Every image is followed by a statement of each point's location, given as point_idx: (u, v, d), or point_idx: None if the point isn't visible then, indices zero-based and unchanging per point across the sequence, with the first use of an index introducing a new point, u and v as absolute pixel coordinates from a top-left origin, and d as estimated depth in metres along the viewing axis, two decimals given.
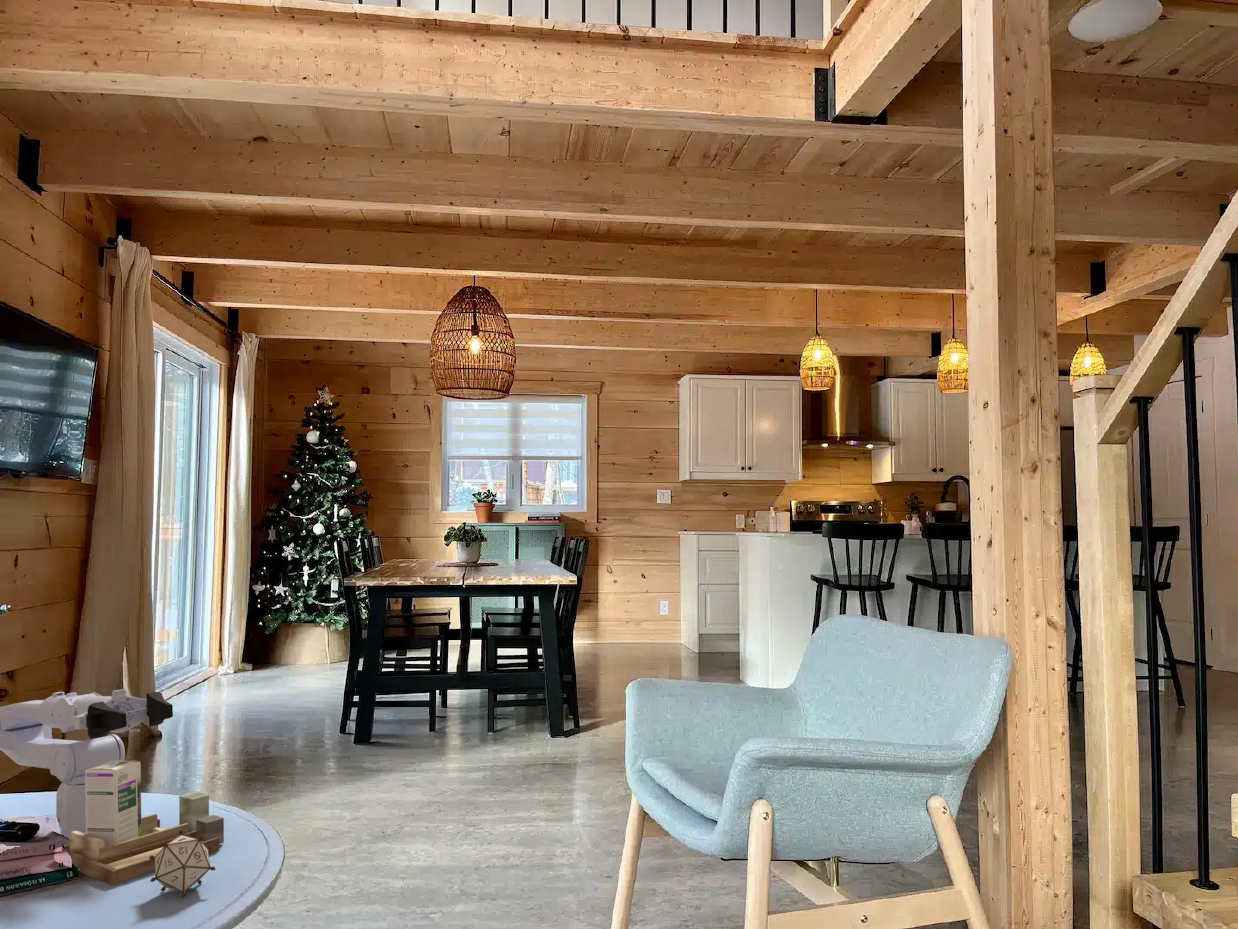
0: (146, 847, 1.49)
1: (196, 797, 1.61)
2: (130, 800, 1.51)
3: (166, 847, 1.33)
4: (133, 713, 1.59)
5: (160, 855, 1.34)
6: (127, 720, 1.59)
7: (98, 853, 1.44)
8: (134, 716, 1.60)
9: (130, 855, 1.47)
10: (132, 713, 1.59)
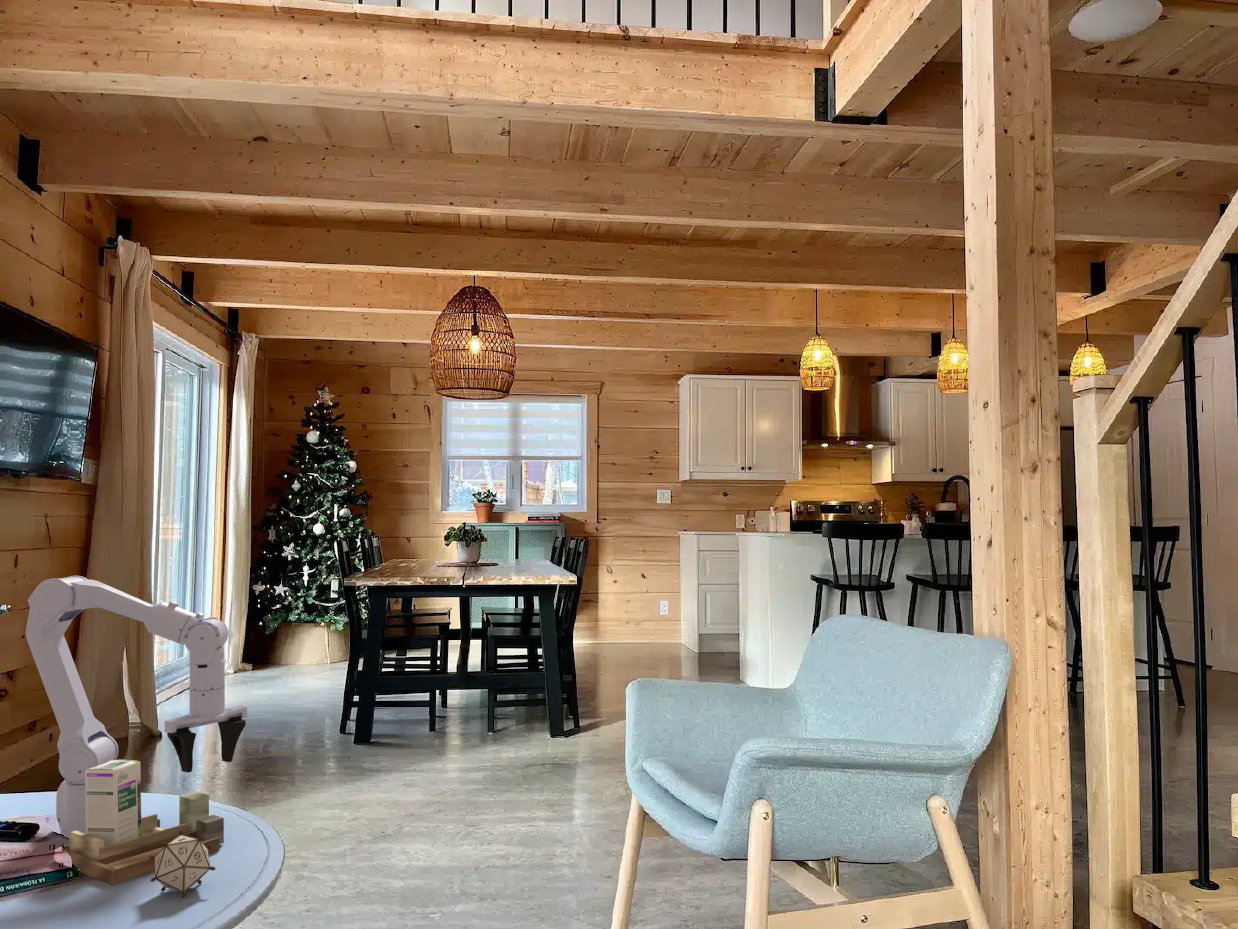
0: (146, 847, 1.49)
1: (196, 797, 1.61)
2: (130, 800, 1.51)
3: (166, 847, 1.33)
4: (214, 722, 1.68)
5: (160, 855, 1.34)
6: None
7: (98, 853, 1.44)
8: None
9: (130, 855, 1.47)
10: (213, 722, 1.68)
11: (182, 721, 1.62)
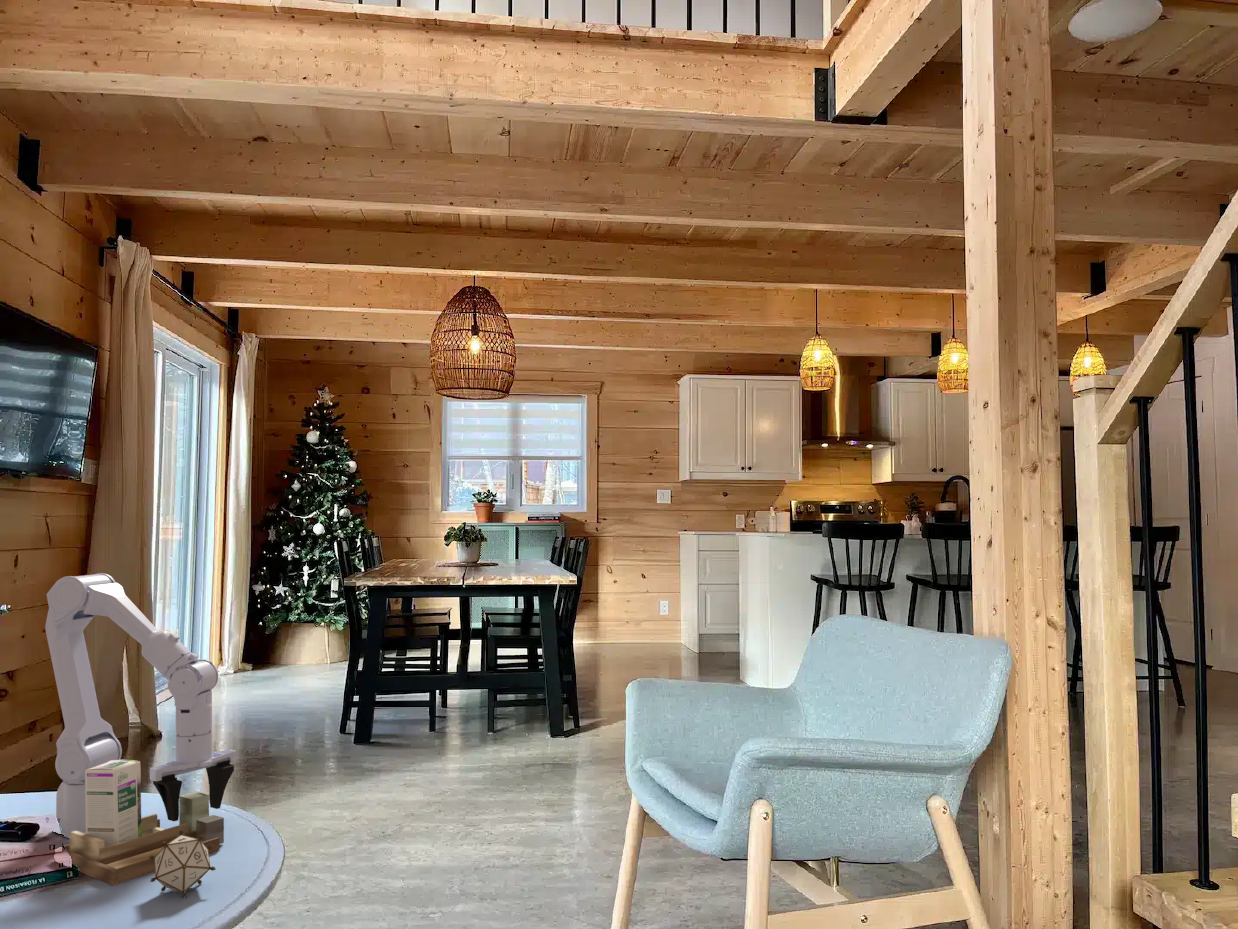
0: (146, 847, 1.49)
1: (196, 797, 1.61)
2: (130, 800, 1.51)
3: (166, 847, 1.33)
4: None
5: (160, 855, 1.34)
6: None
7: (98, 853, 1.44)
8: None
9: (130, 855, 1.47)
10: (201, 768, 1.63)
11: (168, 769, 1.57)
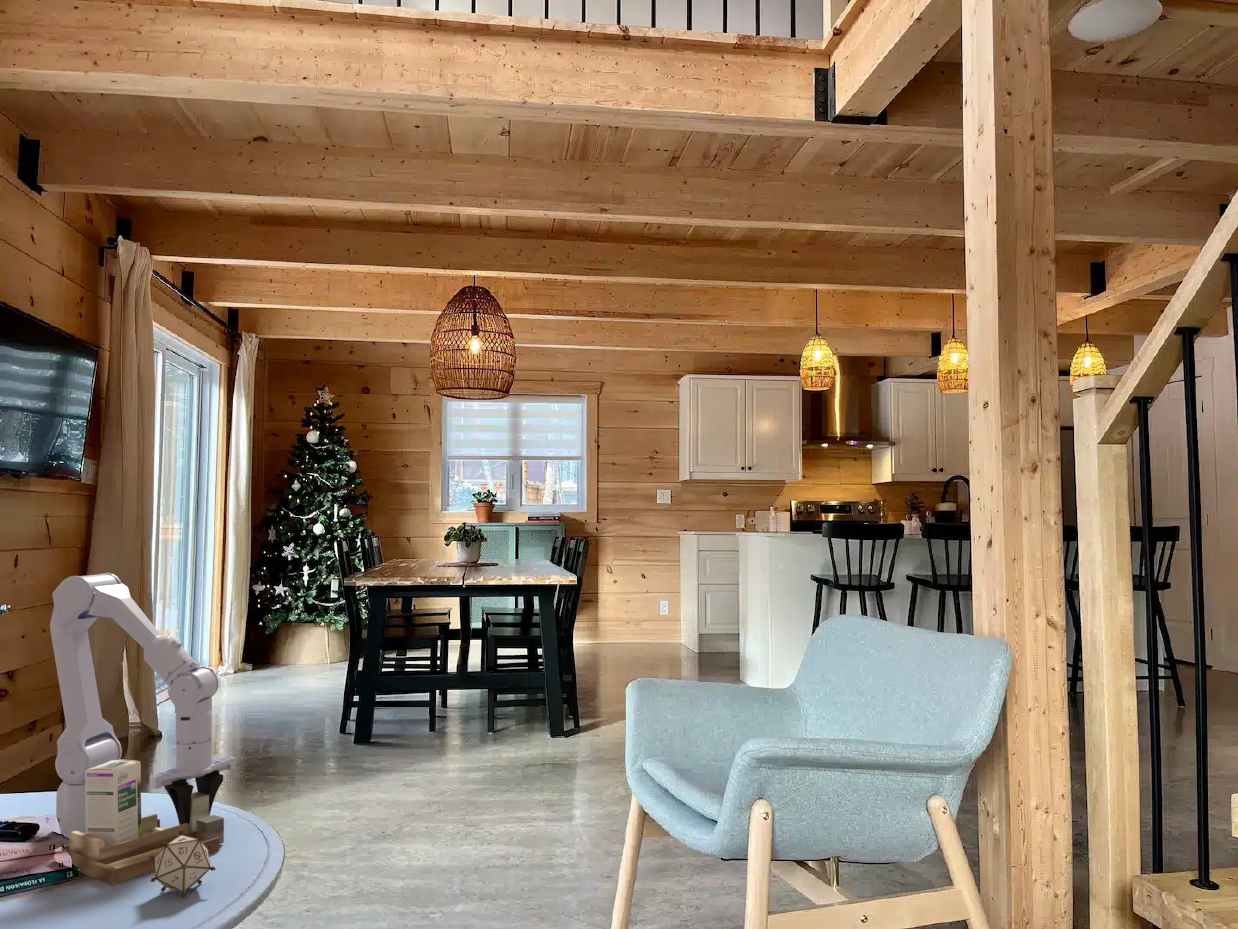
0: (146, 847, 1.49)
1: (196, 797, 1.61)
2: (130, 800, 1.51)
3: (166, 847, 1.33)
4: (201, 775, 1.63)
5: (160, 855, 1.34)
6: None
7: (98, 853, 1.44)
8: None
9: (130, 855, 1.47)
10: (200, 775, 1.63)
11: (167, 776, 1.57)
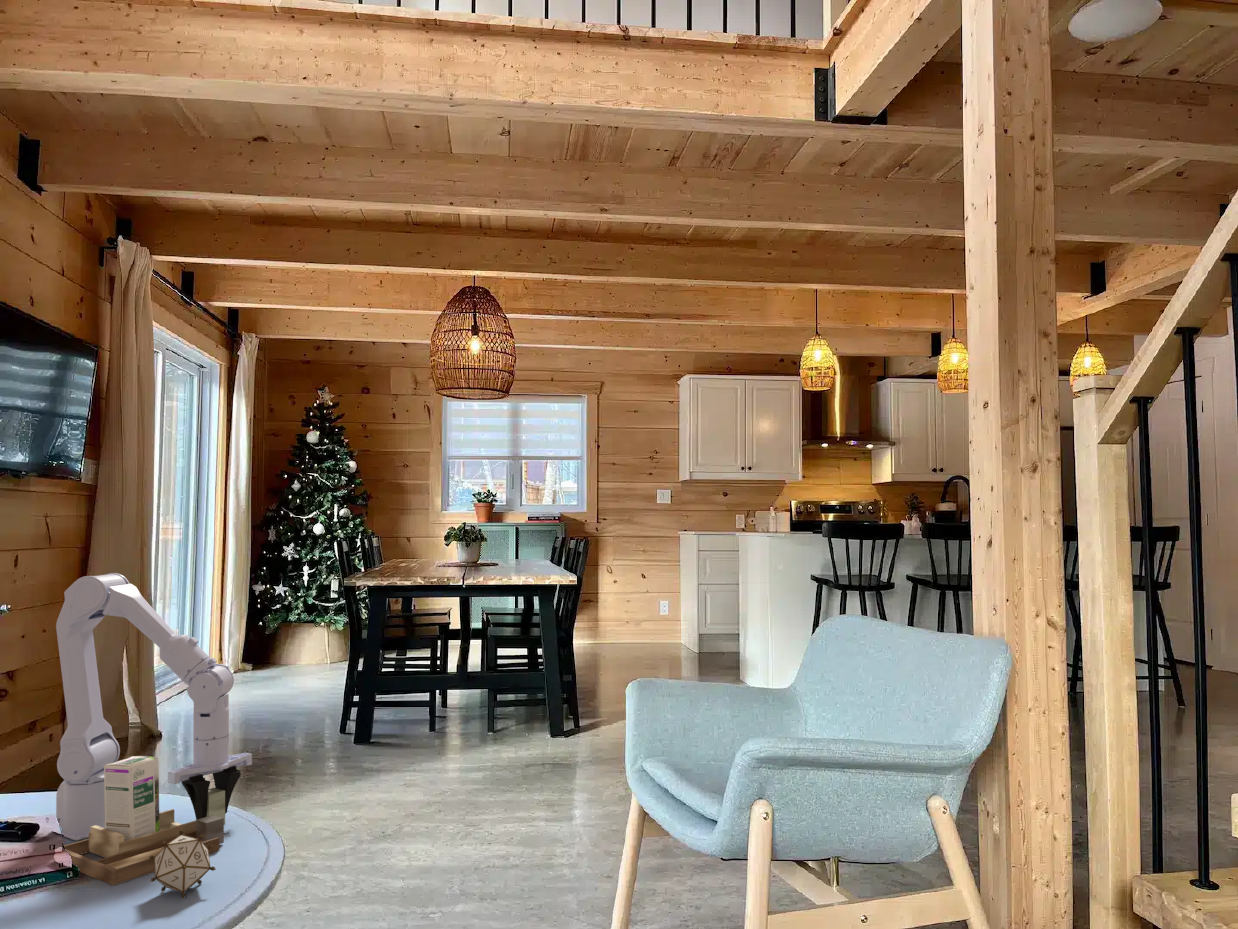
0: (146, 847, 1.49)
1: (212, 792, 1.63)
2: (147, 796, 1.52)
3: (166, 847, 1.33)
4: None
5: (160, 855, 1.34)
6: None
7: (118, 847, 1.47)
8: None
9: (130, 855, 1.47)
10: (218, 771, 1.66)
11: (186, 772, 1.59)
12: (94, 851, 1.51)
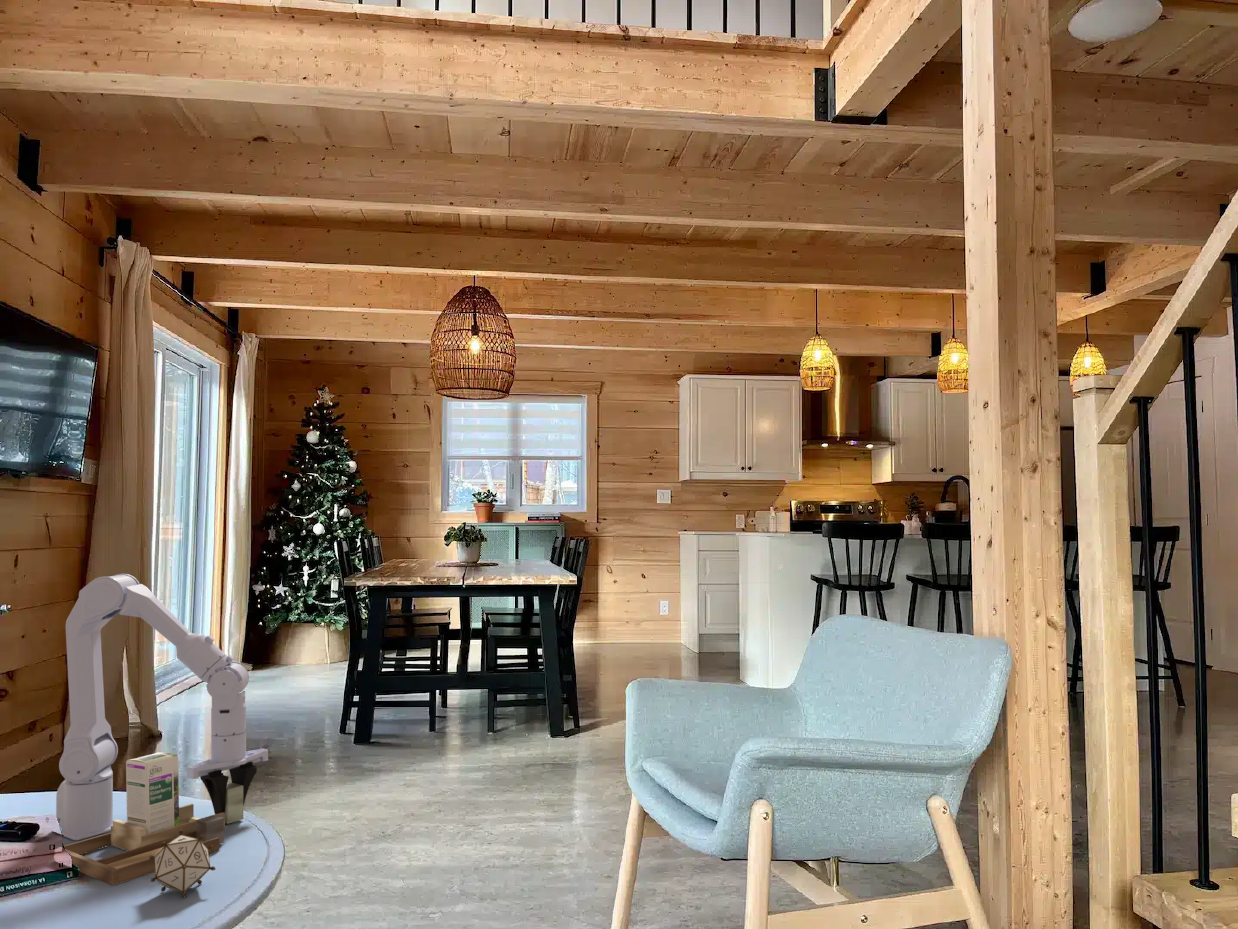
0: (146, 847, 1.49)
1: (231, 787, 1.66)
2: (165, 793, 1.54)
3: (166, 847, 1.33)
4: (236, 766, 1.68)
5: (160, 855, 1.34)
6: None
7: (141, 841, 1.50)
8: None
9: (130, 855, 1.47)
10: None
11: (204, 767, 1.62)
12: (116, 844, 1.54)
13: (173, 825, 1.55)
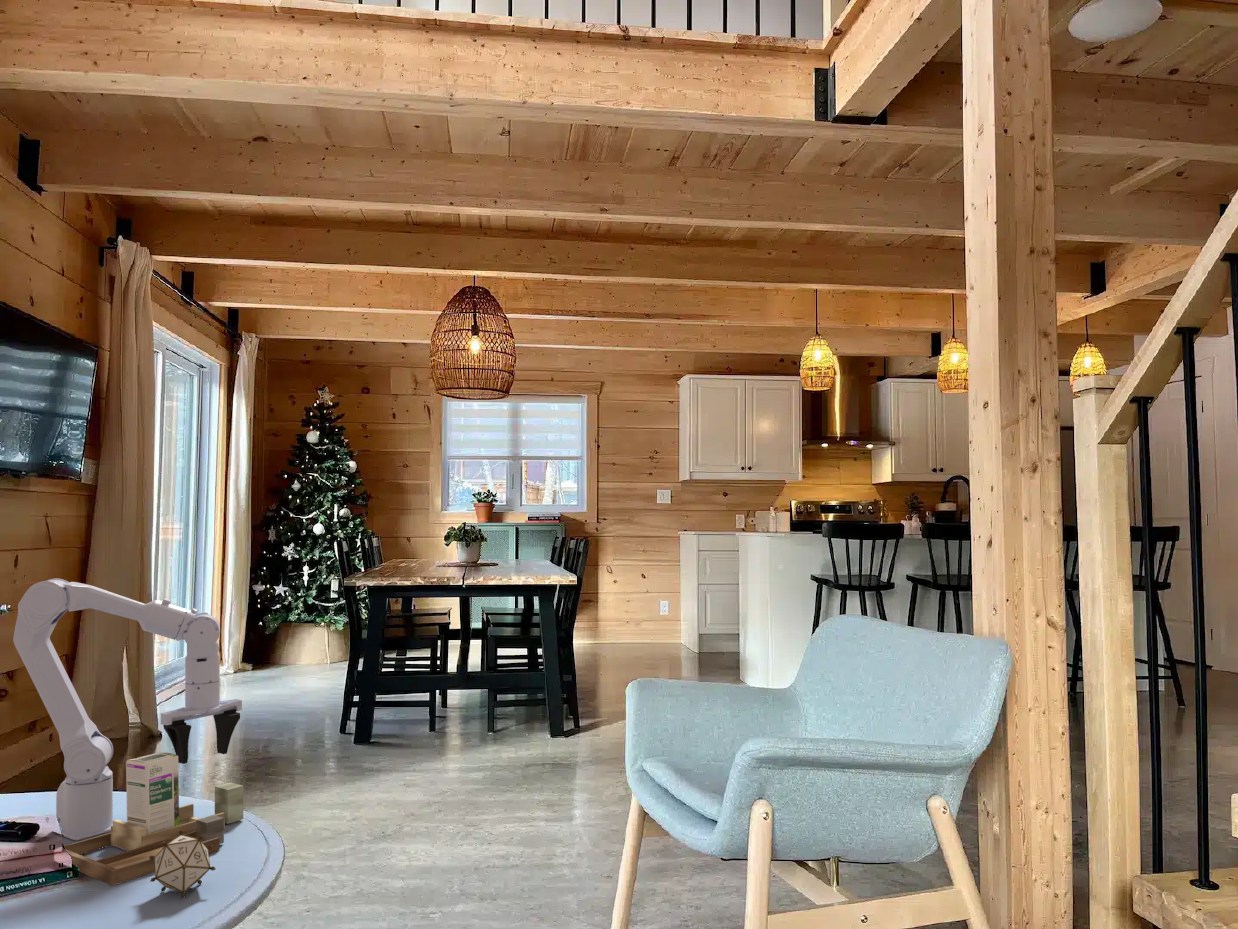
0: (146, 847, 1.49)
1: (231, 787, 1.66)
2: (165, 793, 1.54)
3: (166, 847, 1.33)
4: None
5: (160, 855, 1.34)
6: None
7: (141, 841, 1.50)
8: None
9: (130, 855, 1.47)
10: (209, 715, 1.72)
11: (178, 713, 1.66)
12: (116, 844, 1.54)
13: (173, 825, 1.55)
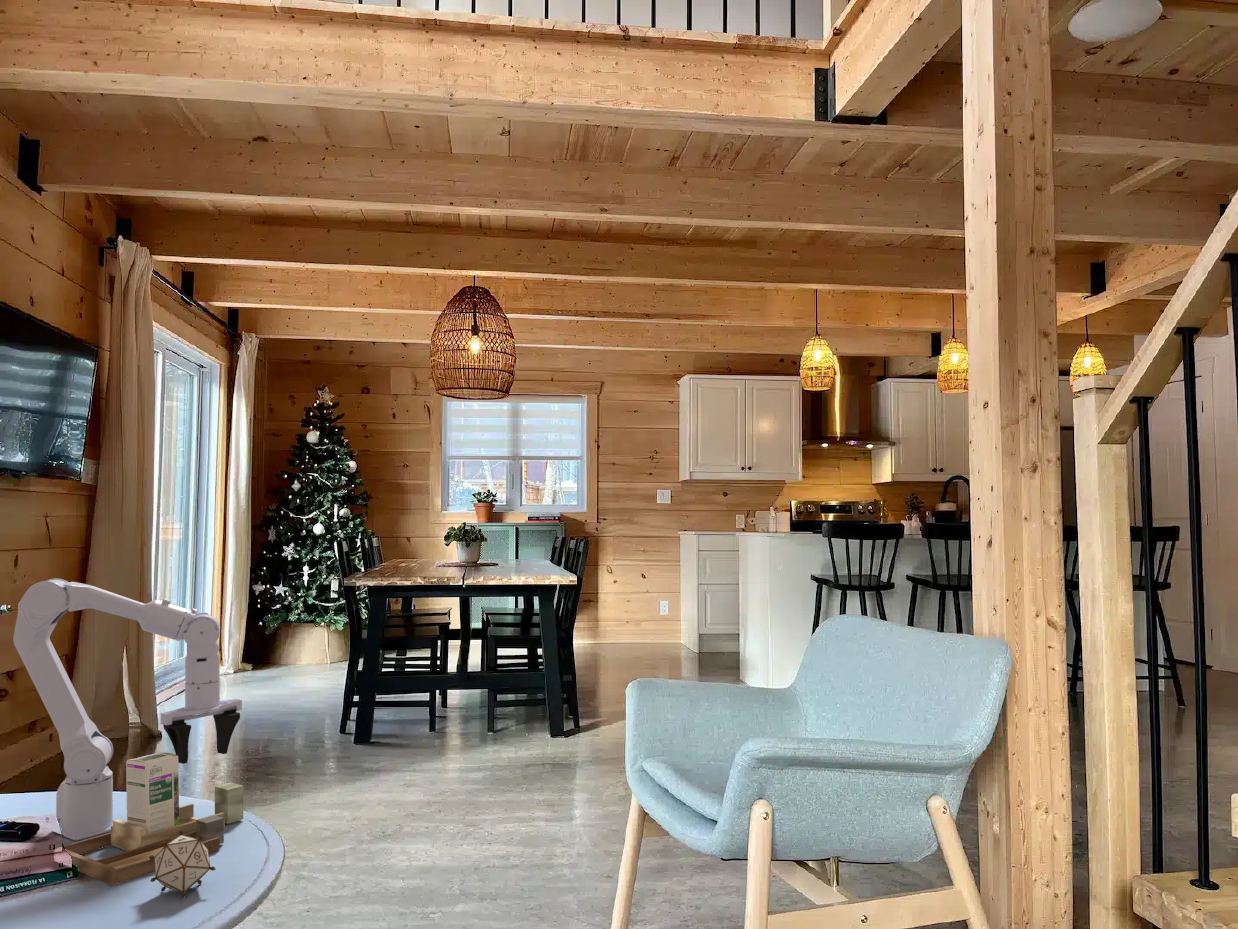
0: (146, 847, 1.49)
1: (231, 787, 1.66)
2: (165, 793, 1.54)
3: (166, 847, 1.33)
4: None
5: (160, 855, 1.34)
6: None
7: (141, 841, 1.50)
8: None
9: (130, 855, 1.47)
10: (209, 715, 1.72)
11: (178, 713, 1.66)
12: (116, 844, 1.54)
13: (173, 825, 1.55)
